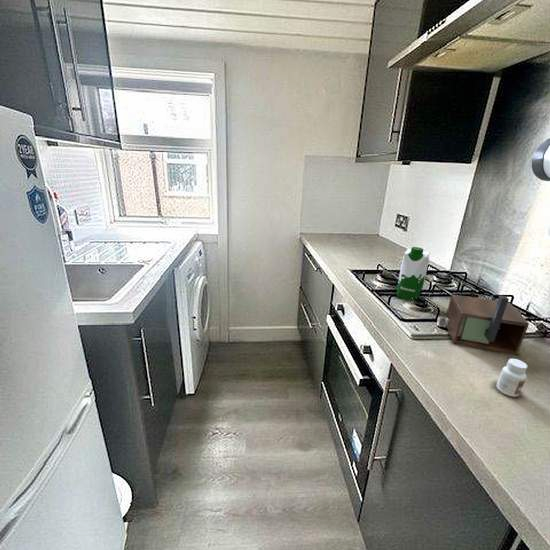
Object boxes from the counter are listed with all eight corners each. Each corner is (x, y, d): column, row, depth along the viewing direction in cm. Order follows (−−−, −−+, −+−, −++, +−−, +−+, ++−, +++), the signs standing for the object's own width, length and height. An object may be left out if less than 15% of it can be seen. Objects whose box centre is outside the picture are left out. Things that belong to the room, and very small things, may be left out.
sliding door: (487, 343, 87) (504, 293, 81) (492, 350, 83) (510, 299, 78) (460, 338, 89) (475, 289, 83) (463, 345, 85) (479, 295, 80)
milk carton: (393, 297, 117) (403, 247, 110) (398, 289, 124) (408, 242, 117) (418, 303, 112) (429, 252, 105) (421, 295, 120) (433, 246, 112)
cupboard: (500, 330, 96) (509, 302, 92) (517, 354, 84) (529, 323, 80) (444, 321, 100) (451, 294, 97) (453, 343, 88) (461, 313, 85)
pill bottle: (520, 400, 68) (531, 372, 65) (496, 392, 70) (506, 364, 67) (517, 388, 71) (528, 361, 68) (495, 381, 73) (505, 354, 71)
